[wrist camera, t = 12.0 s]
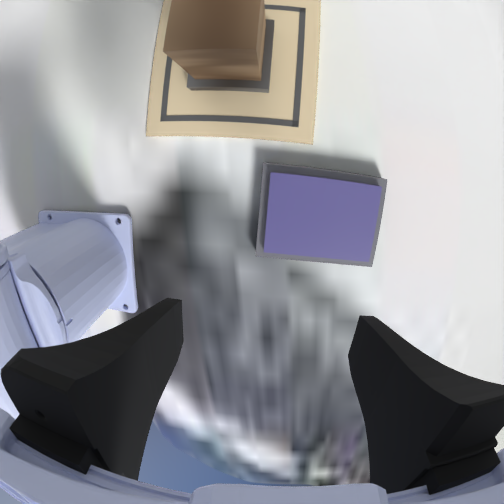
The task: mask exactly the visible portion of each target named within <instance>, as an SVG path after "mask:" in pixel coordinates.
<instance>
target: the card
mask: <svg viewBox="0 0 504 504" xmlns="http://www.w3.org/2000/svg"><path fill="white" fill-rule="evenodd" d="M171 2H172V0H164V2H163V7H162V12H161V17H160V22H159V28H158V34H157V40H156V46H155V53H154V60H153V67H152V75H151V84H150V93H149V104H148V116H147V130H146V136H211V137H234V138H251V139H264V140H275V141H286V142H295V143H304V144H312V145H313V137H314V125H315V112H316V98H317V83H318V65H319V43H320V9H321V0H264V3H265V19H271V20H274V38H273V50H272V63H271V75H270V87H269V93H262V92H246V91H210V90H202V91H191V90H190V89H189V88H187V78H188V73H187V72H186V71H185V70H184V69H183V68H182V67H180V66H179V65H178V64H177V63H176V62H175V61H173V60H172V59H171V58H170V57H169V56H167V55H166V54H165V53H164V52H163V47H164V40H165V34H166V28H167V22H168V17H169V12H170V7H171Z"/></svg>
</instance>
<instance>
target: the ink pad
mask: <svg viewBox="0 0 504 504" xmlns="http://www.w3.org/2000/svg"><path fill="white" fill-rule="evenodd" d="M386 185H387V179H384V178H379V177H373V176H367V175H361V174H355V173H348V172H342V171H335V170H327V169H320V168H312V167H303V166H294V165H285V164H275V163H263V171H262V183H261V196H260V208H259V219H258V231H257V243H256V255H255V256H258V257H269V258H280V259H290V260H301V261H312V262H323V263H334V264H345V265H356V266H367V267H372V264H373V259H374V255H375V250H376V245H377V240H378V235H379V229H380V224H381V218H382V212H383V206H384V199H385V192H386Z"/></svg>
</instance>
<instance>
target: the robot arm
mask: <svg viewBox="0 0 504 504" xmlns="http://www.w3.org/2000/svg"><path fill="white" fill-rule="evenodd" d="M50 215H51V217H52V219H51V217H50ZM38 218H39V224H36V225H34V226H32V227H29V228H27V229H25V230H23V231H20V232H18V233H16V234H14V235H11V236H9V237H7V238H5V239H3V240H1V241H0V487H1V488H2V489H3V490H4V491H6V492H7V493H9V494H10V495H11V496H13V497H14V498H15V499H17V500H18V501H20V502H21V503H23V504H504V448H503V449H502V450H500V451H499V452H498V453H496V451H495V449H494V447H496V446H497V444H498V442H497V440H496V438H495V436H496V435H497V434H498V432H499V431H500V430H501V429H502V428H503V426H504V385H501V384H496V383H491V382H487V381H483V380H480V379H477V378H474V377H471V376H468V375H466V374H463V373H460V372H458V371H456V370H454V369H451V368H449V367H447V366H445V365H443V364H441V363H440V362H438V361H436V360H434V359H433V358H431V357H429V356H428V355H426V354H424V353H423V352H421V351H420V350H419V349H417V348H416V347H414V346H413V345H411V344H410V343H409V342H407V341H406V340H405V339H403V338H402V337H401V336H399V335H398V334H397V333H396V332H394V331H393V330H392V329H390V328H389V327H388V326H387V325H385V324H384V323H383V322H381V321H380V320H379V319H377V318H375V317H374V316H360V317H359V320H358V324H357V327H356V331H355V334H354V337H353V341H352V344H351V347H350V351H349V354H348V358H349V365H350V371H351V376H352V380H353V383H354V387H355V390H356V393H357V396H358V400H359V403H360V406H361V410H362V413H363V417H364V421H365V426H366V433H367V440H368V450H369V461H370V483H367V484H344V485H331V486H310V487H280V486H258V485H245V484H213V485H208V486H203V487H199V488H197V489H195V490H194V492H193V493H192V494H190V493H185V492H180V491H175V490H171V489H166V488H162V487H158V486H154V485H150V484H147V483H143V482H140V481H138V476H139V471H140V466H141V461H142V457H143V453H144V449H145V444H146V441H147V436H148V433H149V430H150V426H151V423H152V420H153V416H154V413H155V410H156V407H157V405H158V402H159V400H160V398H161V395H162V393H163V391H164V389H165V387H166V385H167V382H168V380H169V378H170V376H171V374H172V372H173V370H174V367H175V365H176V363H177V361H178V358H179V355H180V351H181V348H182V344H183V322H182V300H178V299H171V298H166V299H164V300H162V301H161V302H159V303H157V304H156V305H154V306H152V307H151V308H149V309H147V310H146V311H144V312H142V313H141V314H139V315H137V316H135V317H134V318H132V319H130V320H128V321H126V322H124V323H122V324H120V325H118V326H116V327H114V328H112V329H110V330H107V331H105V332H102V333H100V334H97V335H95V336H92V337H88V338H85V339H81V340H79V339H80V338H81V337H82V335H83V334H84V333H85V332H86V331H87V330H88V329H89V328H90V327H91V325H92V324H93V323H94V322H95V321H96V320H97V319H98V318H99V317H100V316H101V315H102V313H103V312H104V311H105V310H106V309H107V308H108V309H113V310H119V311H124V312H130V313H135V312H136V311H137V309H138V302H137V292H136V282H135V270H134V256H133V237H132V219H131V217H130V216H129V215H128V214H119V213H100V212H79V211H53V210H43V211H40V212H39V214H38ZM118 218H119V219H120V220H121V224H120V223H118V221H117V219H118ZM125 304H126V305H127V306H128V307H126V306H125Z"/></svg>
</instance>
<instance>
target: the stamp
mask: <svg viewBox="0 0 504 504" xmlns="http://www.w3.org/2000/svg"><path fill="white" fill-rule="evenodd" d="M273 38H274V20H271V19H265V3H264V0H172V2H171V7H170V12H169V17H168V22H167V28H166V34H165V40H164V47H163V52H164V53H165V54H166V55H167V56H169V57H170V58H171V59H172V60H173V61H175V62H176V63H177V64H178V65H179V66H180V67H182V68H183V69H184V70H185V71H186V72H187V73H188V78H187V88H189V89H190V90H191V91H202V90H210V91H246V92H262V93H269V87H270V75H271V63H272V50H273Z"/></svg>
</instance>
